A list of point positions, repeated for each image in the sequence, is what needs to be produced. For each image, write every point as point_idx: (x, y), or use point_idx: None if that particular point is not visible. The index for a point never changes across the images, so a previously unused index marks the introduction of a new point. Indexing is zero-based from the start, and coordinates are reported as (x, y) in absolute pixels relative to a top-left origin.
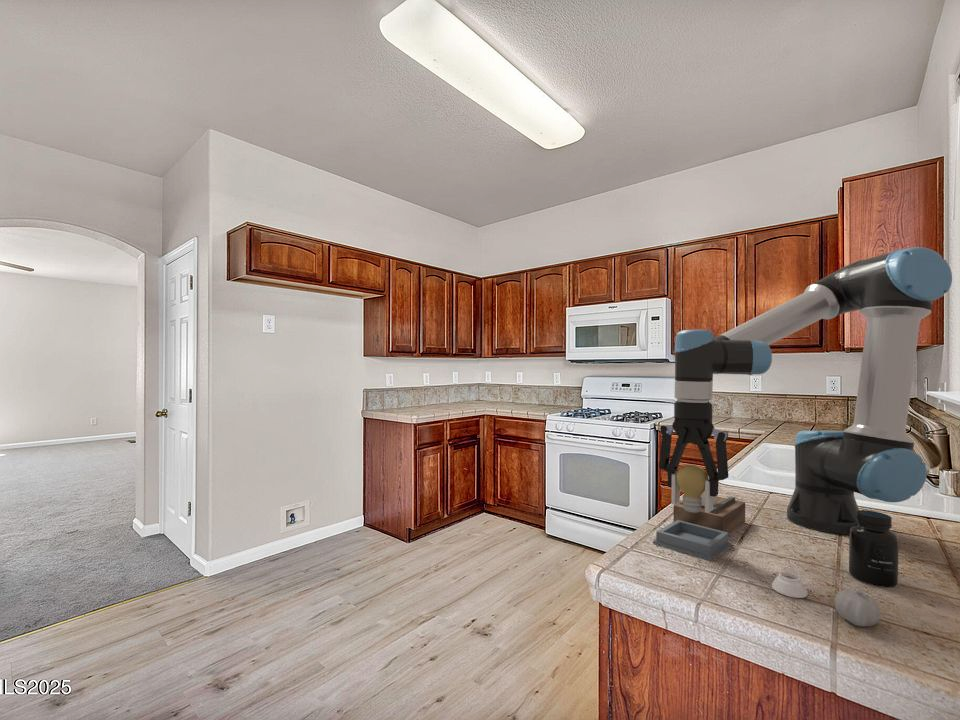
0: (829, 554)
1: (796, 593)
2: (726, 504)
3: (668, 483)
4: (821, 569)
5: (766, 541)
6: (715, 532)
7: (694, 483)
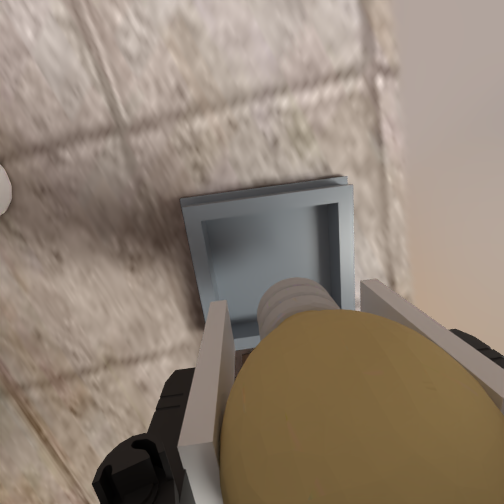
0: (68, 450)
1: None
2: None
3: (478, 343)
4: (26, 366)
5: None
6: (240, 335)
7: (277, 353)
